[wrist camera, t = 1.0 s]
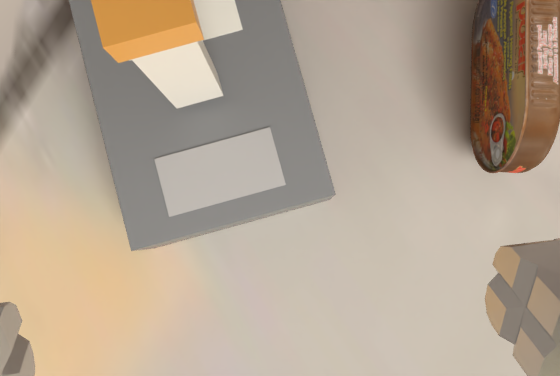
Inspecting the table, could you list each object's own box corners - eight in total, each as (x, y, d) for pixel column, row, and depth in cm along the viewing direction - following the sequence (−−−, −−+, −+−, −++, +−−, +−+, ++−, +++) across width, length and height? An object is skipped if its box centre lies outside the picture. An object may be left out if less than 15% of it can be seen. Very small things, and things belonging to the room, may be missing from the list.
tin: (472, -9, 42) (517, -69, 34) (512, -8, 42) (567, -67, 34) (468, 178, 41) (514, 164, 33) (509, 180, 41) (566, 167, 33)
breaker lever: (231, 99, 35) (196, 22, 22) (172, 116, 35) (103, 47, 22) (221, 65, 35) (181, -32, 22) (163, 81, 35) (88, -7, 22)
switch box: (328, 199, 41) (335, 194, 35) (154, 248, 41) (130, 250, 35) (267, -16, 42) (264, -58, 36) (99, 30, 42) (67, -4, 36)
